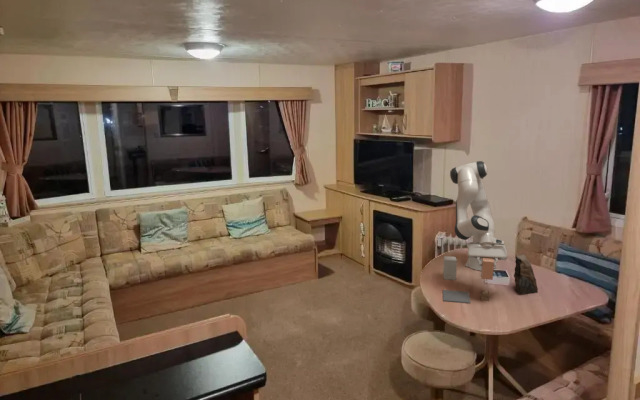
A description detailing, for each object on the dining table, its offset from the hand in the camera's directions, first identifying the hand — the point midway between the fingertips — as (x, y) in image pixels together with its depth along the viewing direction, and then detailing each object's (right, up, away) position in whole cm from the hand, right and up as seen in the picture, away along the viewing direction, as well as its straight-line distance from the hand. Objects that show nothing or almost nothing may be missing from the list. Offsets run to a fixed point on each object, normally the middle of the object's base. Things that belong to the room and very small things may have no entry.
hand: (487, 265), depth 233 cm
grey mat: (-15, -19, +8) cm, 25 cm away
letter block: (0, -19, +4) cm, 19 cm away
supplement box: (-10, -13, +35) cm, 39 cm away
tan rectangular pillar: (0, -6, +1) cm, 7 cm away
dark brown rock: (+26, -16, +13) cm, 34 cm away
